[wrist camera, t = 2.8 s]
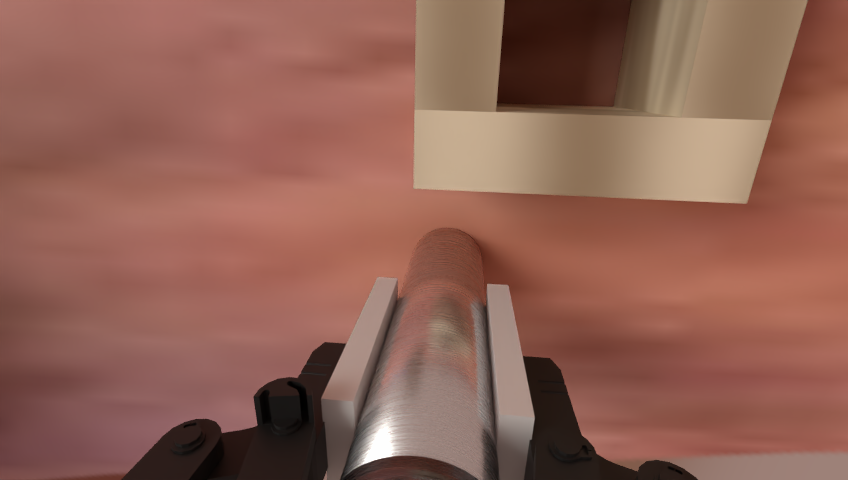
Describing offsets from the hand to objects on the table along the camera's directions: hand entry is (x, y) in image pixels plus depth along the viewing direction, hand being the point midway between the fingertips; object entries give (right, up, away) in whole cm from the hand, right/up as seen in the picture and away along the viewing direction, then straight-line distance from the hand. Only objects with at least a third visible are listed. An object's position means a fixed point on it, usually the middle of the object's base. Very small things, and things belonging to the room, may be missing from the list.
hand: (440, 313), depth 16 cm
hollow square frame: (+5, +11, +1) cm, 12 cm away
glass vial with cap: (0, +2, +5) cm, 5 cm away
